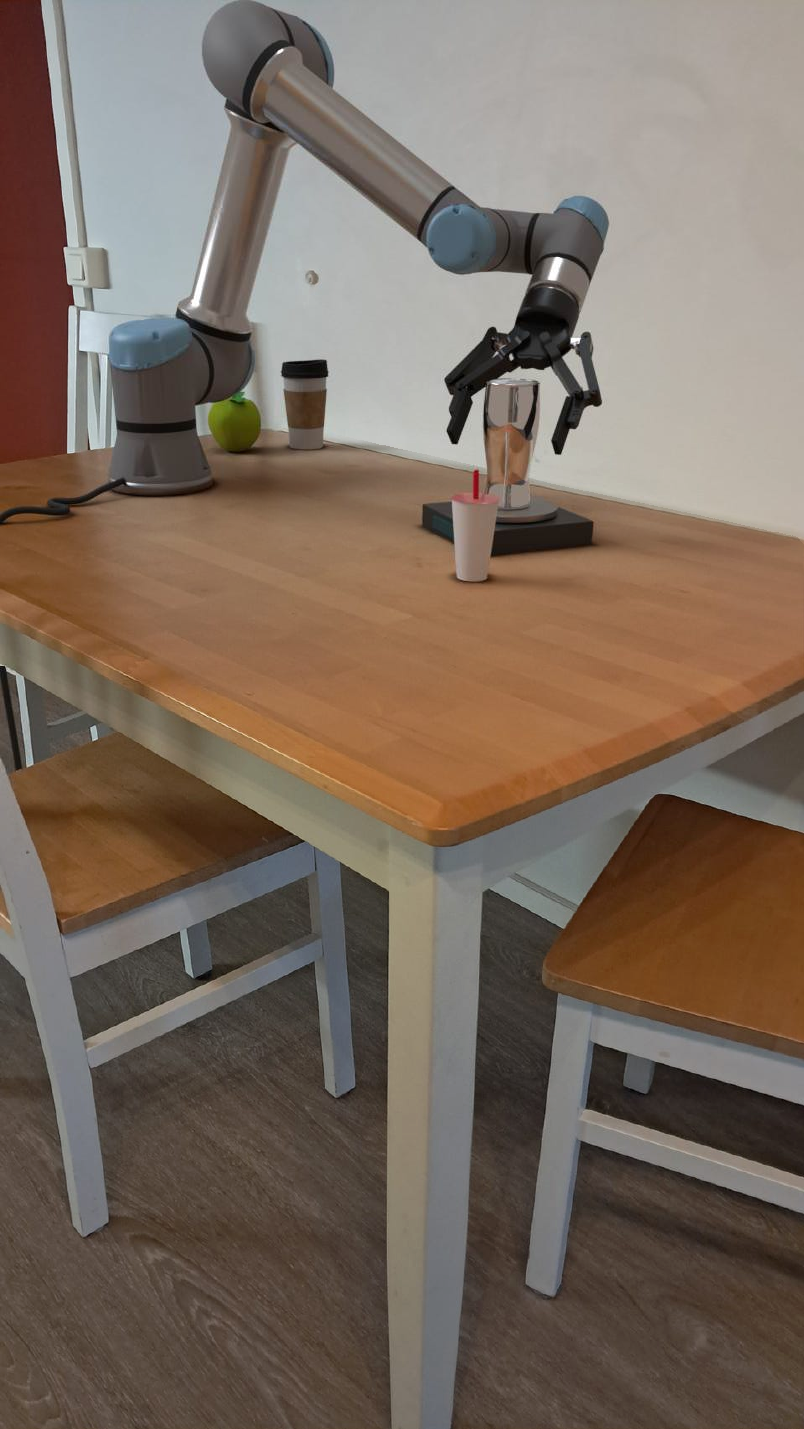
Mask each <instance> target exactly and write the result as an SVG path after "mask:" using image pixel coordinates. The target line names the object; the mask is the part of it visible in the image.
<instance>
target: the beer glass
mask: <svg viewBox="0 0 804 1429" xmlns="http://www.w3.org/2000/svg"><path fill="white" fill-rule="evenodd" d="M482 408H483V409H482V438H483V445H484V453H485V462H486V483H485V487H484V492H483V494H490V495H494V496H497V497H499V498H500V500H499V502H498V509H504V510H515V509H524V508H527V507H529V506H530V504H531V500H530V496H531V491H530V471H531V467H532V461H533V458H534V457H533V456H534V453H535V448H536V444H537V439H538V434H539V429H540V420H541V382H540V381H538V380H535V379H530V378H529V379H528V378H516V377H515V378H514V377H513V378H511V377H509V378H508V377H505V378H498V379H490V380H487V381H486V387H485V390H484V397H483V407H482Z"/></svg>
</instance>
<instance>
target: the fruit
mask: <svg viewBox="0 0 804 1429" xmlns="http://www.w3.org/2000/svg"><path fill="white" fill-rule="evenodd" d="M245 393H246V391H240V392H239V393H238V394H236V395H234V396H232V397H230V398H228V399H226V400H224V401H221V402H216V403H212V405H211V407H210V409H209V411H208V414H207V425H208V429H209V431H210V434H211V435H212V437H213V439H214V441H215V442H216V443H217V444H218V446H219V447H220V448H221V449H223V450H225V451H229V452H233V453H235V452H236V453H239V452H244V451H248V450H249V449H251V447H253V445H254V444H255V443H257V440H258V439H259V437H260V435H261V431H262V419H261V418H262V417H261V414H260V410H259V408H258V406H257V405H256V403H255V402H254V401H253V400H251V399H248V398H246V397H243V396H245Z"/></svg>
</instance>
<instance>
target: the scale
mask: <svg viewBox="0 0 804 1429" xmlns="http://www.w3.org/2000/svg"><path fill="white" fill-rule="evenodd" d="M421 516H422V517H421V518H422V519H421V527H422V528H424V529H426V530H427V531H430V532H432V533H433V534H435V535H438V536H439V537H441V538H443V539H444V540H446V541H448V542H450V543H452V544H454V528H453V511H452V501H440V502H431V503H423V504H422V514H421ZM594 523H595V521H594V520H592V519H589V518H587V517H584V516H582V515H579V514H577V513H575V512H572V511H570V510H567V509H565V508H562V507H559V506H558V512H557V515H556V516H555V517H553V518H551V519H548V520H543V521H538V522H529V523H497V522H495V529H494V536H493V543H492V549H491V556H501V555H509V554H517V553H518V554H519V553H528V552H539V551H546V550H555V549H564V548H565V549H566V548H574V547H583V546H591V545H593V535H594ZM491 556H490V557H491Z"/></svg>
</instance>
